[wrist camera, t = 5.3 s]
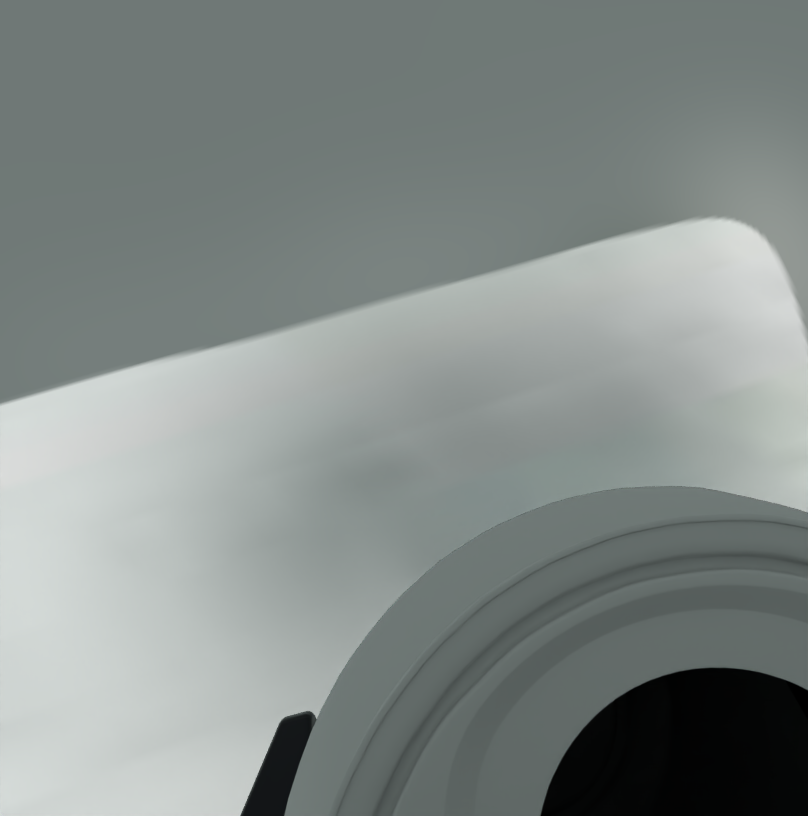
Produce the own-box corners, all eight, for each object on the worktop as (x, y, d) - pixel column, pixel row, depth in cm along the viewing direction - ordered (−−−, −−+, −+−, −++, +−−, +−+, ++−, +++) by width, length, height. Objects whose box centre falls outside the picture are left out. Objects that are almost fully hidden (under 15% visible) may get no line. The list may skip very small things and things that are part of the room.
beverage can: (599, 522, 16) (1033, 334, 5) (707, 813, 15) (1810, 1655, 3) (340, 601, 16) (119, 609, 4) (420, 908, 14) (406, 2260, 3)
